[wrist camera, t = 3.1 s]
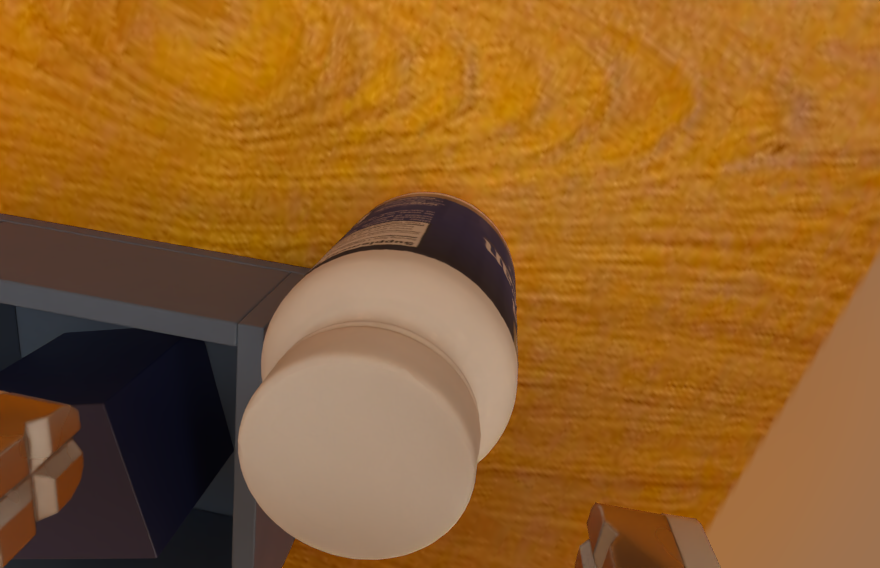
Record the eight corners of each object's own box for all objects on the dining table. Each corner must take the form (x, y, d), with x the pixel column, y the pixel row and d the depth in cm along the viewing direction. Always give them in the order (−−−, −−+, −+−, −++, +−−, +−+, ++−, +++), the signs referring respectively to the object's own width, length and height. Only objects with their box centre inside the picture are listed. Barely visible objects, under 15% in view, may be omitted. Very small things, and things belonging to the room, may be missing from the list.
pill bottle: (535, 326, 19) (560, 569, 10) (380, 366, 20) (273, 616, 11) (486, 164, 17) (460, 273, 8) (320, 216, 18) (136, 363, 9)
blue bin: (319, 269, 19) (263, 328, 15) (299, 530, 23) (250, 637, 19) (-1, 212, 20) (-144, 253, 15) (33, 477, 23) (-74, 568, 19)
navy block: (200, 323, 20) (102, 403, 15) (235, 450, 21) (157, 559, 17) (64, 331, 20) (-70, 411, 16) (108, 454, 22) (-1, 559, 17)
